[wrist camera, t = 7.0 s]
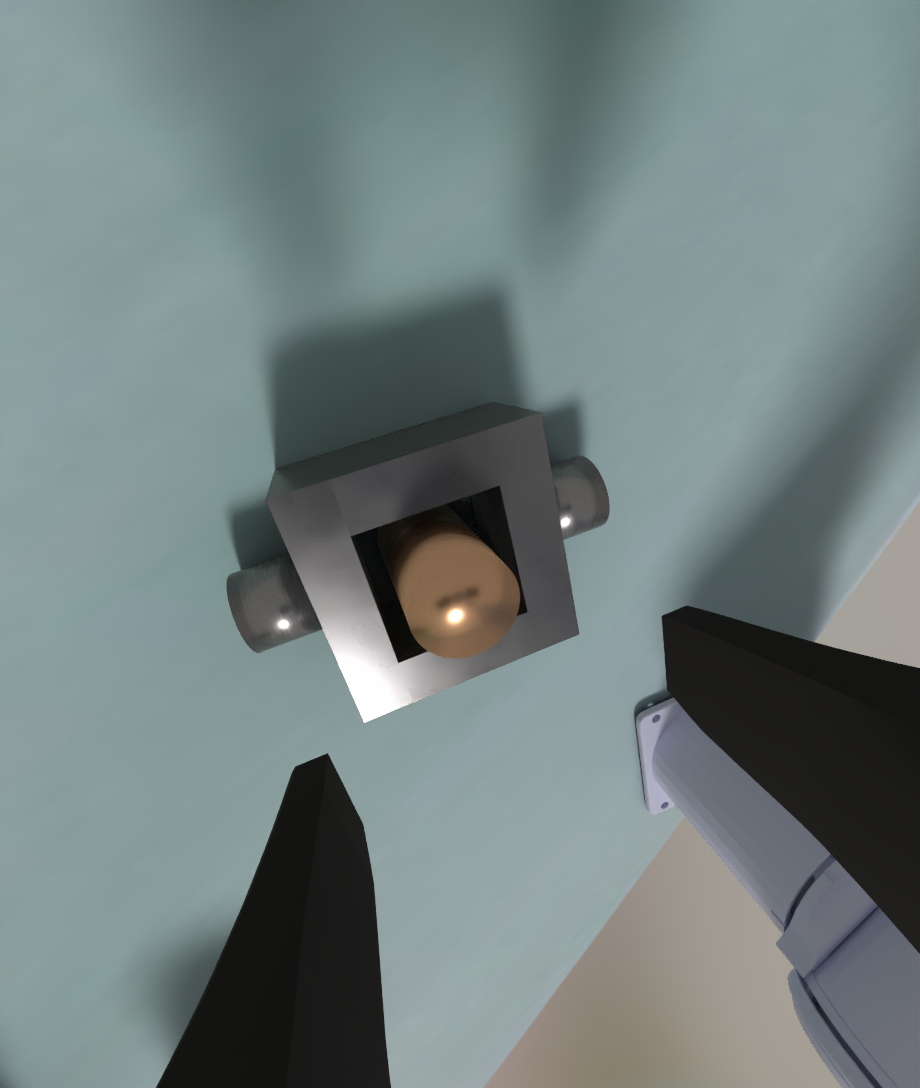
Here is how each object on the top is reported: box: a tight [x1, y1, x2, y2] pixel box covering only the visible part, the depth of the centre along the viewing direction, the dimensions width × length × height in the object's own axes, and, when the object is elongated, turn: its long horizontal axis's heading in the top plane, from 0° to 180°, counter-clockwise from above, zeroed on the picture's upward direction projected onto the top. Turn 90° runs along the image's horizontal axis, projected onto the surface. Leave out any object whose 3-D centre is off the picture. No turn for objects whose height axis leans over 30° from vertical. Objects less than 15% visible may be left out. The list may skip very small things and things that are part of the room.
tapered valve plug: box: [378, 504, 520, 658], centre depth 16 cm, size 3×3×6 cm
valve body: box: [227, 402, 609, 722], centre depth 17 cm, size 13×8×4 cm, turn 104°
